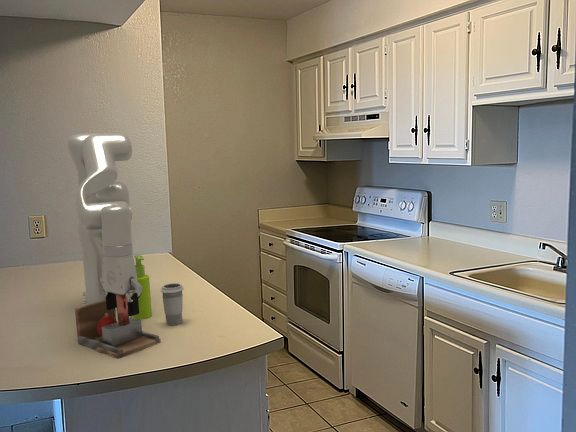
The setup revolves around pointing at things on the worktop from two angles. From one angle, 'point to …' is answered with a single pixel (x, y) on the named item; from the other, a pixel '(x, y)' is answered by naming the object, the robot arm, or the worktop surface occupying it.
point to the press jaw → (122, 325)
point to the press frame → (88, 330)
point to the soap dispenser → (143, 290)
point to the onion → (105, 322)
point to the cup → (173, 303)
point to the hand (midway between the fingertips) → (122, 311)
